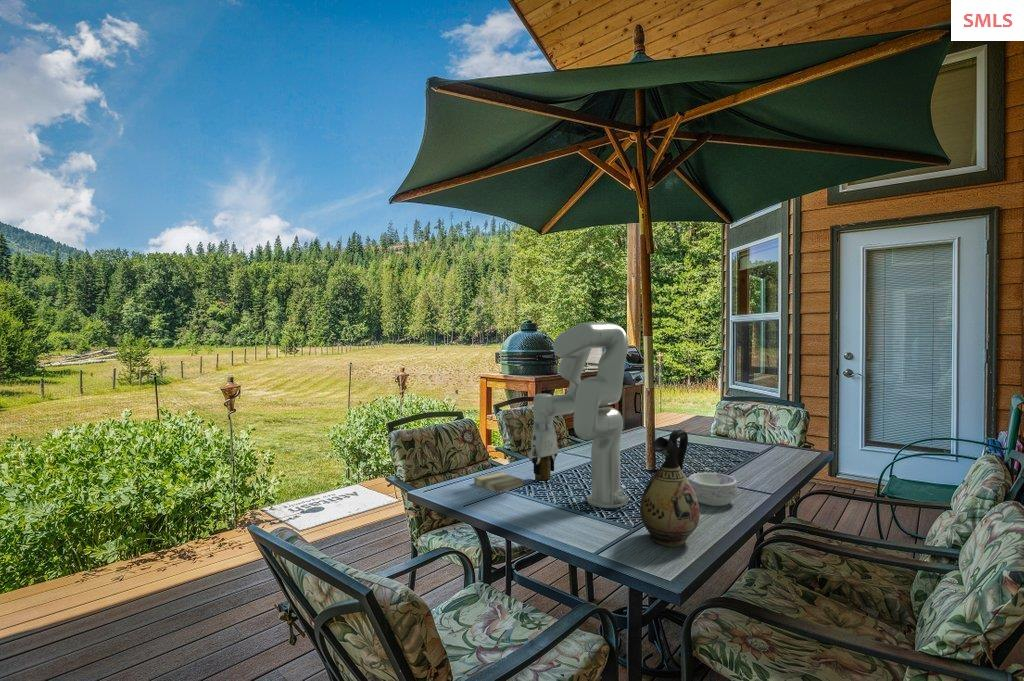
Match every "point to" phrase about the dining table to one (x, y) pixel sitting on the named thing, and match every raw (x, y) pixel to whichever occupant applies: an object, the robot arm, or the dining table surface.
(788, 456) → the dining table surface
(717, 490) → the white marble bowl
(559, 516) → the dining table surface
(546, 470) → the condiment
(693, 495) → the ceramic jug
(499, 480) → the board
